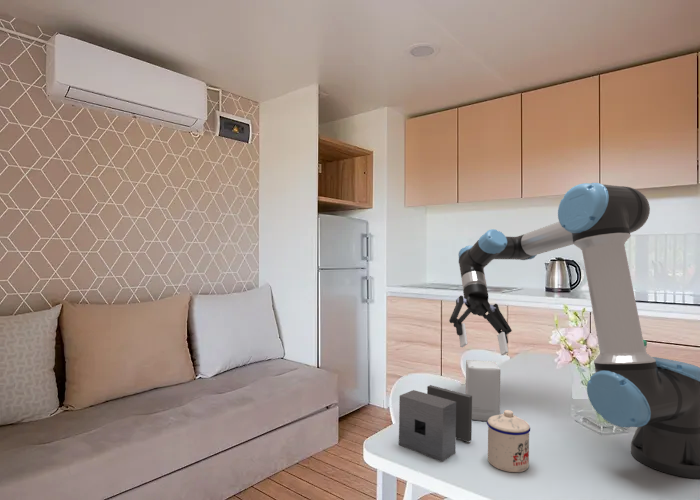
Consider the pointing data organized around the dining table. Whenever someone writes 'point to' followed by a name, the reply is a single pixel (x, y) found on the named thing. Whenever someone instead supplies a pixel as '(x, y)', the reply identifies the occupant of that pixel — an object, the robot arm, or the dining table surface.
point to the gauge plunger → (457, 410)
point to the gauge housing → (427, 424)
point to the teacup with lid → (508, 442)
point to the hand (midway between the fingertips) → (484, 349)
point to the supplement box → (483, 388)
